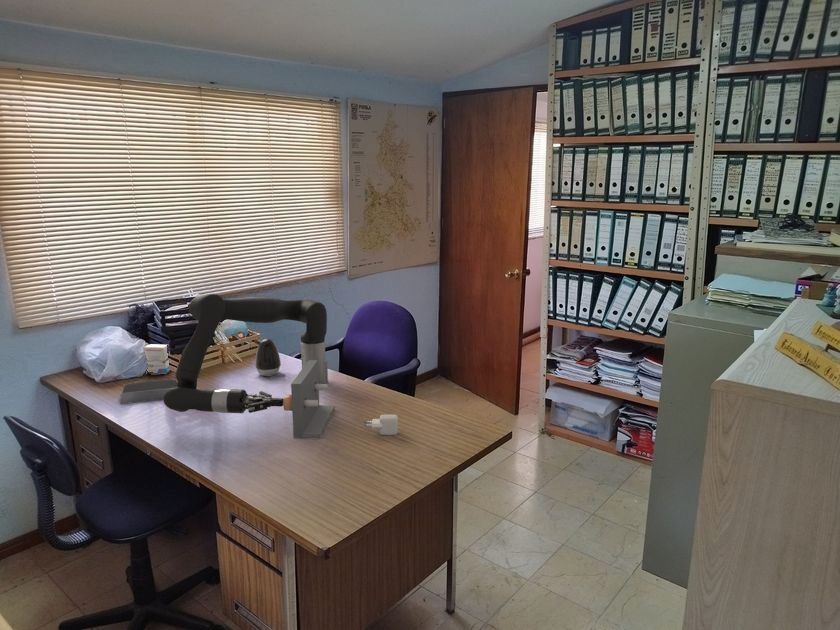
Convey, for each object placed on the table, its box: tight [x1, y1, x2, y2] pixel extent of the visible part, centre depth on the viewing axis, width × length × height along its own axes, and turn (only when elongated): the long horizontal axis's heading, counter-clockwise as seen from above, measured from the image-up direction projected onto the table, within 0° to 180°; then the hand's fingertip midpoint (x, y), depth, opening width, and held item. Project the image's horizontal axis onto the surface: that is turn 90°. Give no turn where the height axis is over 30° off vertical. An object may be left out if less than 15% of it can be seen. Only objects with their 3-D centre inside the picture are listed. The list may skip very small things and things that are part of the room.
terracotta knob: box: [282, 394, 320, 412], centre depth 191 cm, size 10×5×5 cm, turn 87°
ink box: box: [143, 343, 170, 373], centre depth 248 cm, size 9×5×12 cm, turn 84°
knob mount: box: [290, 360, 336, 440], centre depth 198 cm, size 8×24×18 cm, turn 177°
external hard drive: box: [120, 379, 178, 404], centre depth 224 cm, size 13×19×4 cm
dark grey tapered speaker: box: [253, 338, 282, 377], centre depth 246 cm, size 10×10×15 cm
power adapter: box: [362, 414, 399, 436], centre depth 192 cm, size 11×5×6 cm, turn 92°
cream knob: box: [314, 383, 329, 391], centre depth 205 cm, size 10×5×5 cm, turn 87°
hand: (283, 402), depth 191 cm, fingers closed
